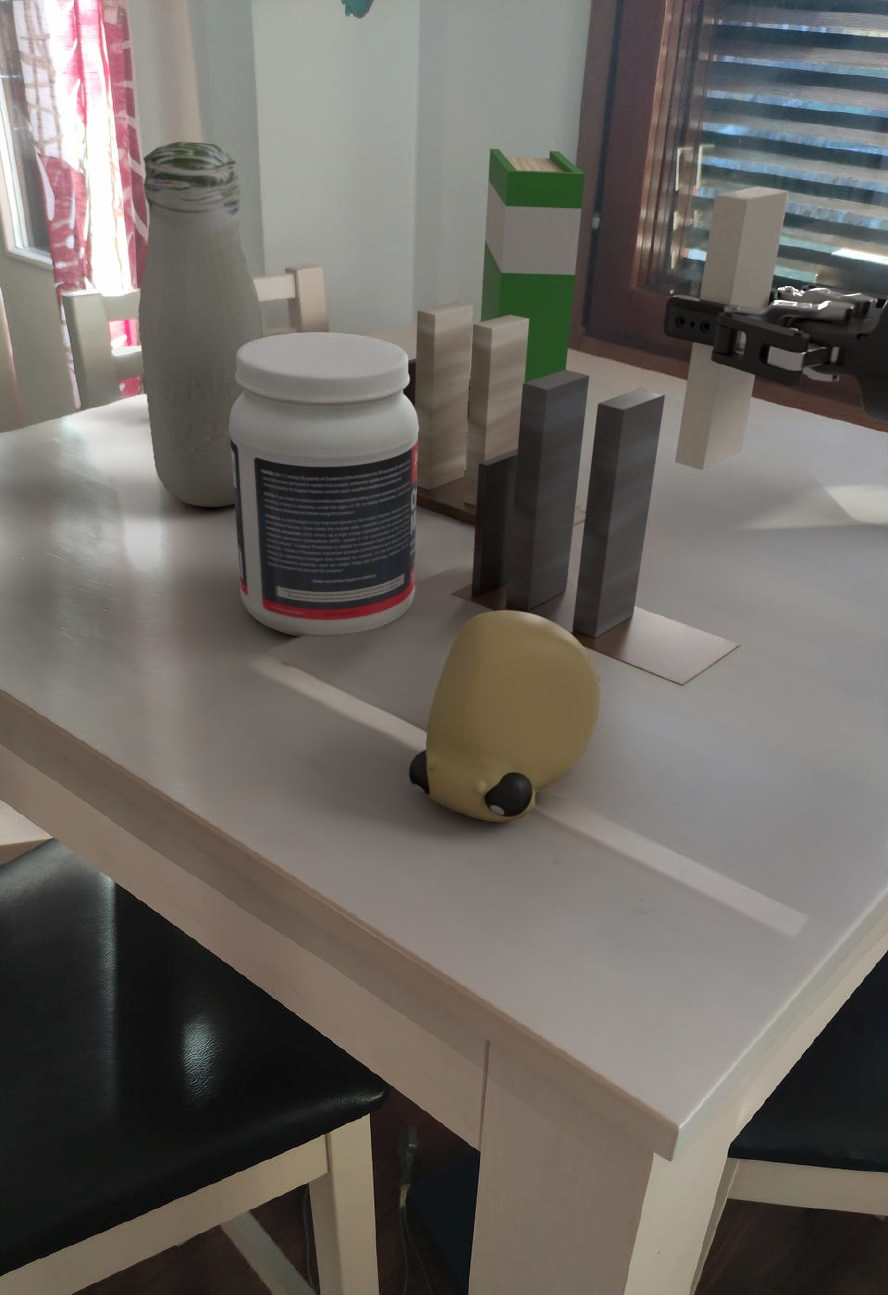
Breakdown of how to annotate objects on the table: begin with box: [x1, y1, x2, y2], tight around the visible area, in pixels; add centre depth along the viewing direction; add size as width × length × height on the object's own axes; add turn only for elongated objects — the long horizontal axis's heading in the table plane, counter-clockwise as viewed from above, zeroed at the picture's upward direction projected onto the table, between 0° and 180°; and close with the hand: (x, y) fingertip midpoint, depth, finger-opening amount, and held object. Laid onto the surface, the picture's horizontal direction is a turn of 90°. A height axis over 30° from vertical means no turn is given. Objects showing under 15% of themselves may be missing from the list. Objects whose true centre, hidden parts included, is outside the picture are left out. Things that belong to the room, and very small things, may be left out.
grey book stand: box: [451, 369, 741, 687], centre depth 80 cm, size 20×8×17 cm, turn 50°
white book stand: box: [403, 301, 586, 527], centre depth 100 cm, size 20×8×16 cm, turn 50°
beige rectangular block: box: [674, 186, 790, 471], centre depth 69 cm, size 2×5×15 cm, turn 140°
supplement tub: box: [229, 331, 419, 638], centre depth 81 cm, size 13×13×18 cm
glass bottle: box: [138, 141, 264, 508], centre depth 95 cm, size 10×10×28 cm
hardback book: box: [480, 148, 586, 383], centre depth 125 cm, size 18×7×24 cm, turn 4°
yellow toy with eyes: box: [408, 610, 601, 823], centre depth 66 cm, size 10×12×11 cm
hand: (693, 307), depth 70 cm, fingers closed on beige rectangular block, 5 cm apart
